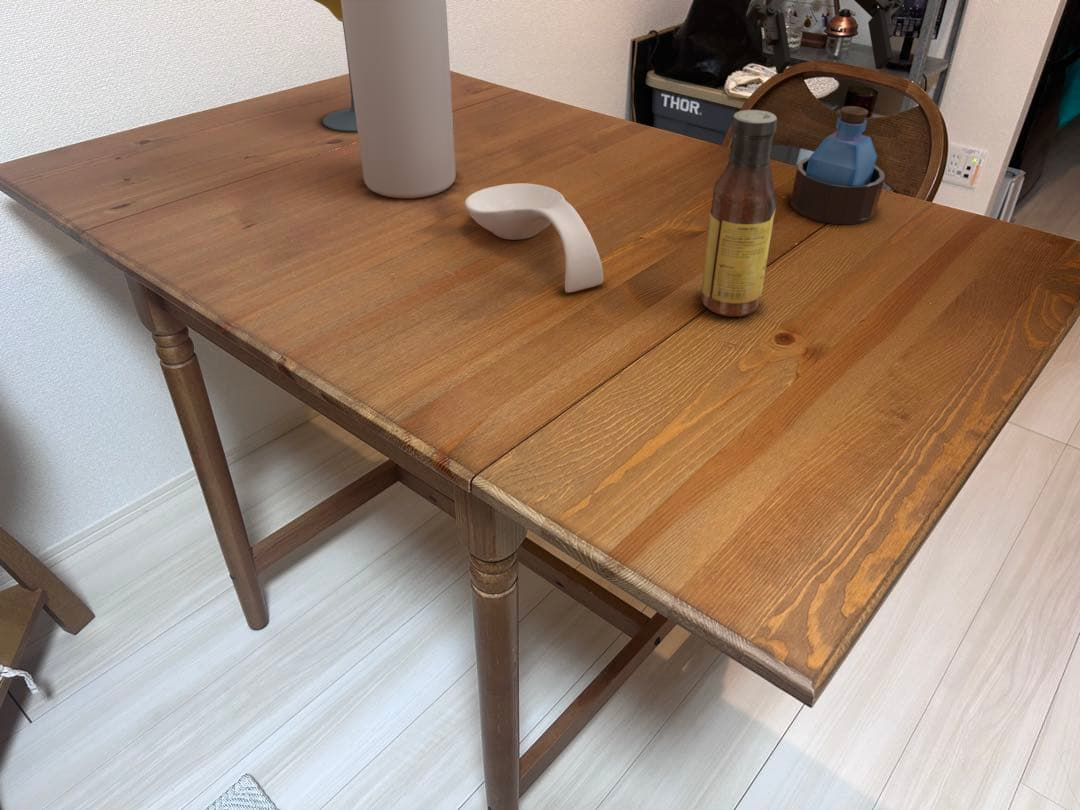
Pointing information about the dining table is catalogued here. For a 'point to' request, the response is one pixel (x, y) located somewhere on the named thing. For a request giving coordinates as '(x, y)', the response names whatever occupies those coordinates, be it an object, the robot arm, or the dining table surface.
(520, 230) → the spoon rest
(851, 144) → the perfume bottle
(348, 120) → the cocktail glass
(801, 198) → the dark brown round bowl
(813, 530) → the dining table surface
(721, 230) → the sauce bottle
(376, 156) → the cylinder vase
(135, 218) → the dining table surface
